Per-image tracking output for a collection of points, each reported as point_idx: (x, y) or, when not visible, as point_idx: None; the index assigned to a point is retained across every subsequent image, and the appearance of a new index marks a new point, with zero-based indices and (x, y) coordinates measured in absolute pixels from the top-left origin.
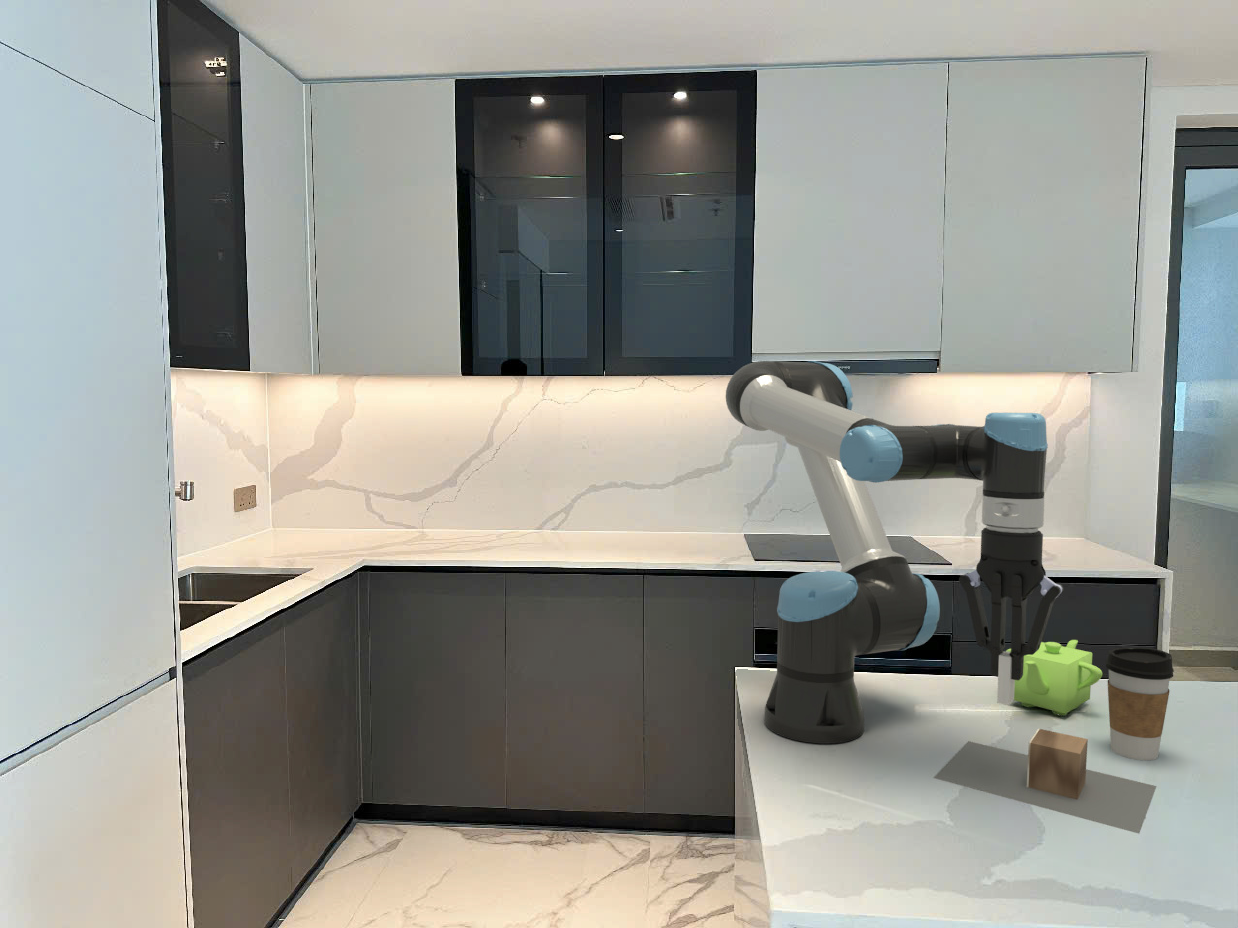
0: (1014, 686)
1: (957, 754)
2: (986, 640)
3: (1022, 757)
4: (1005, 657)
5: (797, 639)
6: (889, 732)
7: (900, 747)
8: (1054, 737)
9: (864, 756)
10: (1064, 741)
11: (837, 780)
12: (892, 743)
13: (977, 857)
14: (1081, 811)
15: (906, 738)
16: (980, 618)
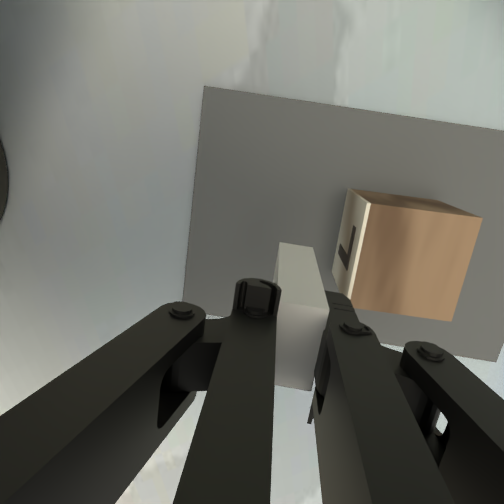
0: (315, 260)
1: (198, 181)
2: (193, 387)
3: (320, 125)
4: (289, 386)
5: None
6: (46, 116)
7: (92, 190)
8: (402, 247)
9: (54, 266)
10: (424, 262)
11: (57, 375)
12: (73, 176)
13: (279, 495)
14: (417, 324)
15: (87, 132)
16: (113, 499)
